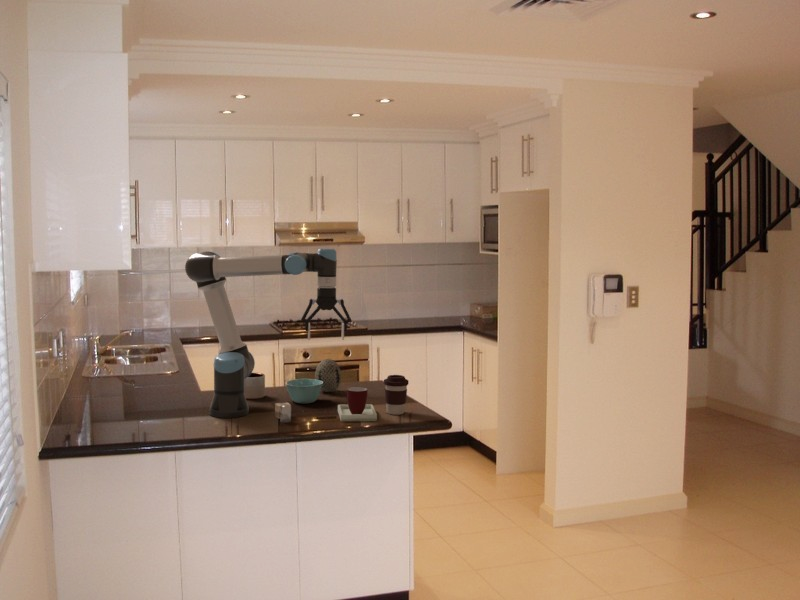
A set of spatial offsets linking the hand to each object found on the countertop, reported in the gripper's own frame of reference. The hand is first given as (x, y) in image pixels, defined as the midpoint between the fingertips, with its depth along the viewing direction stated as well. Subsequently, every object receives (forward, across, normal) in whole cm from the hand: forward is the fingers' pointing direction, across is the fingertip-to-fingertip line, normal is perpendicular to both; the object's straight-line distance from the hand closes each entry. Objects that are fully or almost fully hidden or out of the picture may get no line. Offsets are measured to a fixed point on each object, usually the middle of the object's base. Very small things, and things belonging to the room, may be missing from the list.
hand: (325, 339), depth 332 cm
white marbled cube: (+29, -17, -12) cm, 36 cm away
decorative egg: (+29, +3, +31) cm, 42 cm away
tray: (+29, +12, -12) cm, 33 cm away
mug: (+28, +12, -12) cm, 33 cm away
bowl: (+29, -8, +14) cm, 33 cm away
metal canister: (+29, -16, -19) cm, 38 cm away
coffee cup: (+29, +28, -8) cm, 41 cm away
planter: (+29, -30, +23) cm, 48 cm away
